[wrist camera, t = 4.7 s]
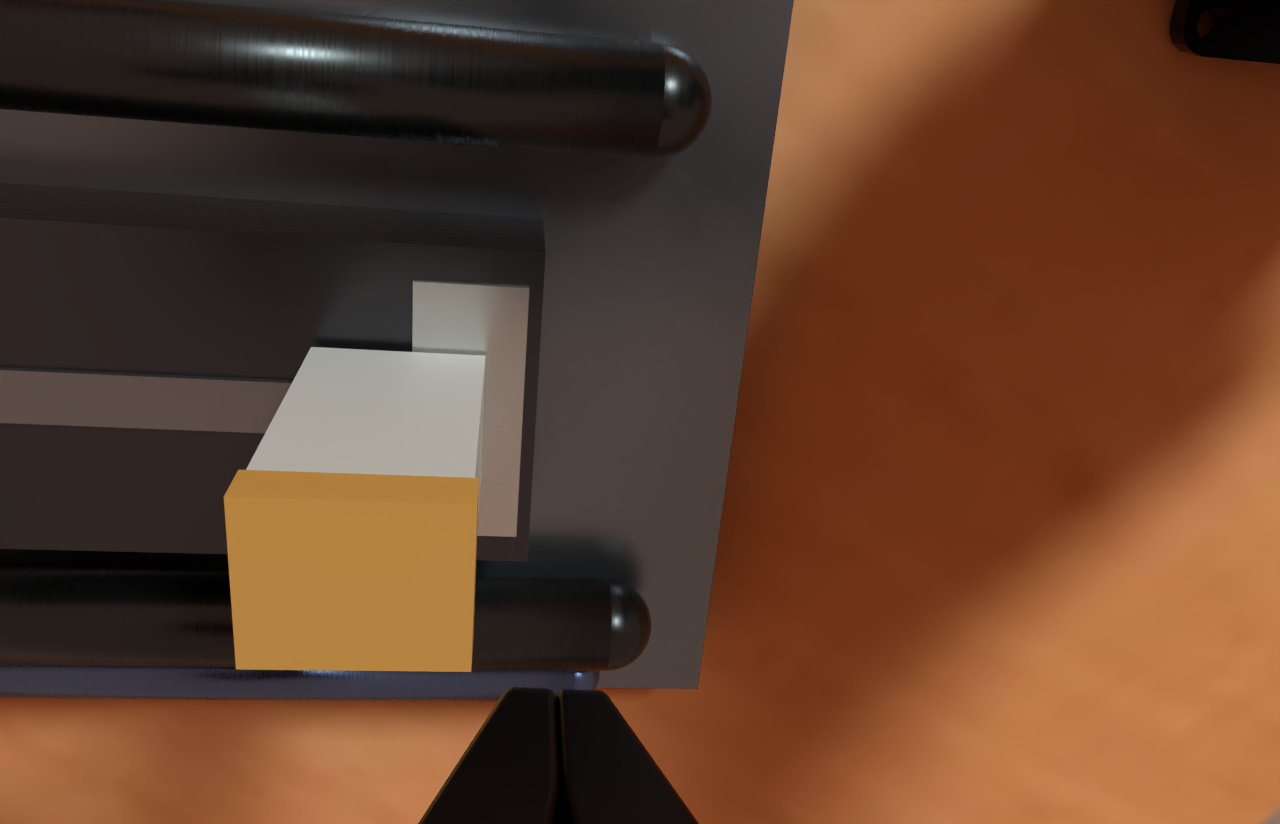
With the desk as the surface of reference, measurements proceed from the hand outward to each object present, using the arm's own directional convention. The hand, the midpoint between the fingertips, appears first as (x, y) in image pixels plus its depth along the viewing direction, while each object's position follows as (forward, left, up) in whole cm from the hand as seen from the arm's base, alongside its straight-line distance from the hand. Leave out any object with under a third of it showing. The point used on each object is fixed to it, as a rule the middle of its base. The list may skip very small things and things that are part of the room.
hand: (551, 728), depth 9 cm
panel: (+6, 0, -11) cm, 12 cm away
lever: (+2, 0, -7) cm, 7 cm away
